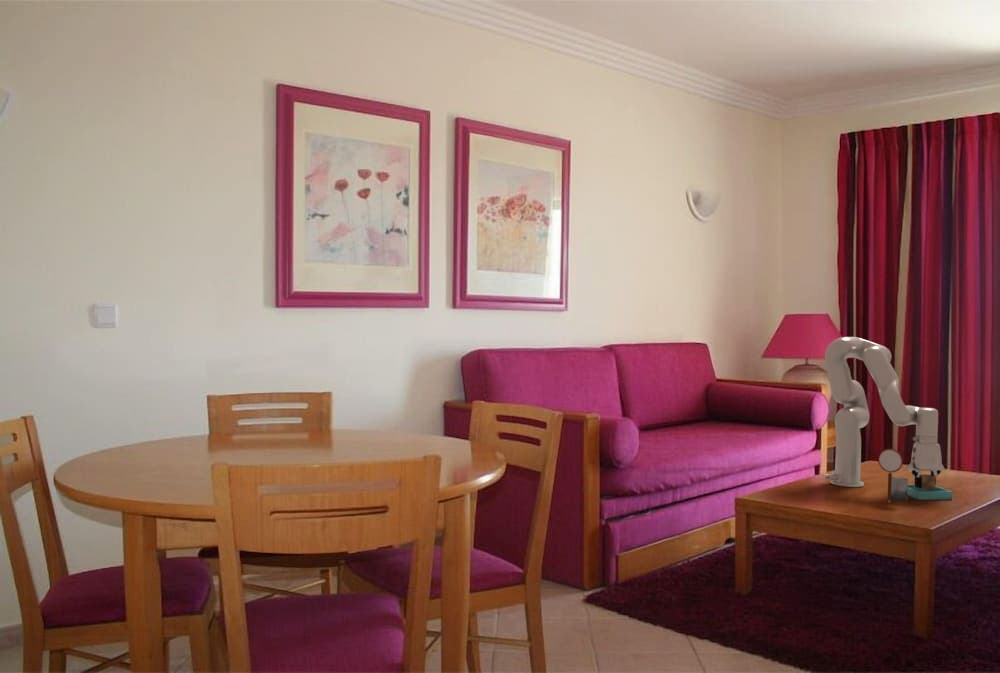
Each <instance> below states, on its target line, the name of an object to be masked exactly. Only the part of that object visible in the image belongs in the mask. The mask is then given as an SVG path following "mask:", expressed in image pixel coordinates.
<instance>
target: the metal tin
mask: <svg viewBox="0 0 1000 673" xmlns="http://www.w3.org/2000/svg"><path fill="white" fill-rule="evenodd" d="M908 485H909V479H908V478H907V477H901V476H892V484H891V499H892V500H891V501H895V500H896V501H897V502H908V496H907V491H908Z"/></svg>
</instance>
